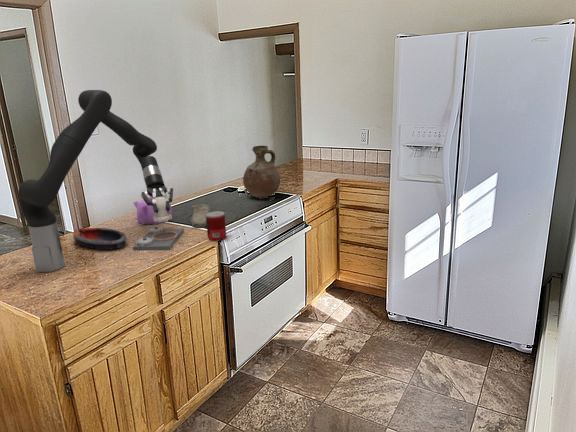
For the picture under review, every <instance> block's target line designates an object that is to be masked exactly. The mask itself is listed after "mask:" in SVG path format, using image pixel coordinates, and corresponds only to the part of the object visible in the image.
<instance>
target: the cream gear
mask: <svg viewBox="0 0 576 432" xmlns="http://www.w3.org/2000/svg"><path fill="white" fill-rule="evenodd" d="M155 202H156V205H157V209H158V213H157V215H156V216H153V220H154V221H159V222H162V221H165V222H169V220H172V219H173V216H172V213H171V214H167V207H166V199H165V197H156V198H155ZM162 223H163V222H162Z"/></svg>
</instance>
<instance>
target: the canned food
mask: <svg viewBox="0 0 576 432" xmlns="http://www.w3.org/2000/svg"><path fill="white" fill-rule="evenodd" d="M206 222H207V225H206V230H207V239H208V240H210V241H222V240H225V239H226V237H227V227H226V215H225V212H224V211H220V210H217V211H211V212H209V213H207V214H206Z"/></svg>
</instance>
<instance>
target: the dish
mask: <svg viewBox="0 0 576 432" xmlns="http://www.w3.org/2000/svg"><path fill="white" fill-rule="evenodd" d="M72 235H73V238H74V240H75V241H76V242H77V243H78V244H79V245H81V246H83V247H87V248H90V249H97V250H114V249H119V248H122V247H124V245H125V243H126V240H127V235H126V234H125V233H124V232H123V231H120V230H117V229H112V228H107V227H85V228H77V229H75V230H74V233H73V234H72Z"/></svg>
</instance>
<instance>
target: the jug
mask: <svg viewBox="0 0 576 432" xmlns="http://www.w3.org/2000/svg"><path fill="white" fill-rule="evenodd" d="M251 151H253V153H254V154H255V155H254V156H255V161H254V162H253V163H251V164H249V165H248V166H247V167H246V169H245V171H244V175H243V178H242V183H243V186H244V188H245V190H246V191H247V192H248V194H249V195H251V196H252V197H254V198H255V197H256V198H265V197H268V196H270V195H271V196H273V195H274V194H275V193H276V192H277V191H278V189H279V188H280V186H281V185H280V184H281V176H280V172H279V171H278V168H277V167H276V165H275V162H276V154H275V151H274V150H272V149H269V146H267V145H254V146H253V147H252V149H251ZM266 154H270V155H271V158H270V161H267V160H266V158H265V157H266V156H265V155H266ZM272 194H273V195H272ZM256 198H255V199H256Z"/></svg>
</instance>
